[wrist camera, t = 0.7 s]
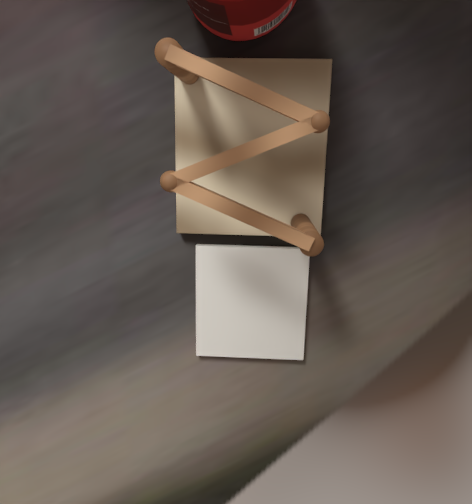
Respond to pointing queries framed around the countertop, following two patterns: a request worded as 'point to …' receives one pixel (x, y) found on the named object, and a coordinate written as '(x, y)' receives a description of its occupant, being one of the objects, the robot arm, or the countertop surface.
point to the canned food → (241, 16)
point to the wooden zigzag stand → (249, 145)
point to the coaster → (251, 301)
